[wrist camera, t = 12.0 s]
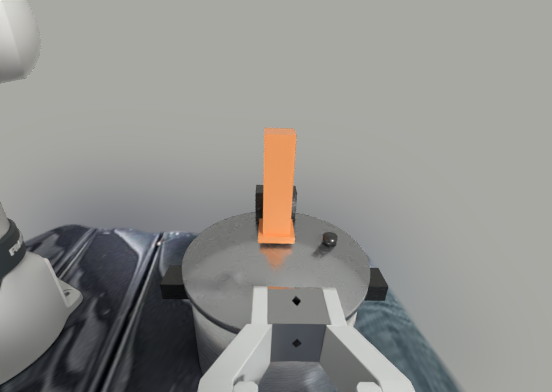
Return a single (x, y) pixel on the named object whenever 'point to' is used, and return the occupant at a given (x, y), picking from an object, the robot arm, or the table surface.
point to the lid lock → (278, 186)
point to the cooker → (268, 284)
